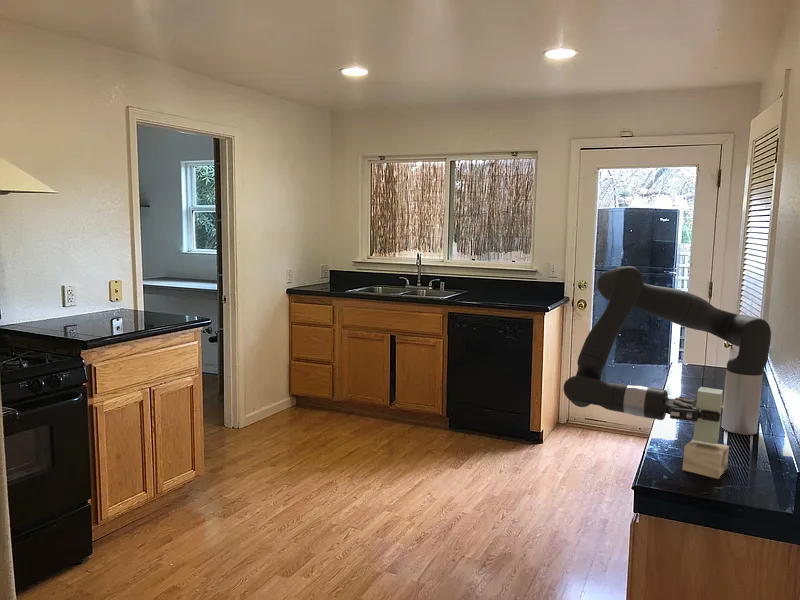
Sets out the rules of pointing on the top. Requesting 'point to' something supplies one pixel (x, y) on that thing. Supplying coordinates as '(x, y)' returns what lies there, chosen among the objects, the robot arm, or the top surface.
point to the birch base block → (705, 458)
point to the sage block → (711, 402)
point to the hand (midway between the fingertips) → (720, 414)
